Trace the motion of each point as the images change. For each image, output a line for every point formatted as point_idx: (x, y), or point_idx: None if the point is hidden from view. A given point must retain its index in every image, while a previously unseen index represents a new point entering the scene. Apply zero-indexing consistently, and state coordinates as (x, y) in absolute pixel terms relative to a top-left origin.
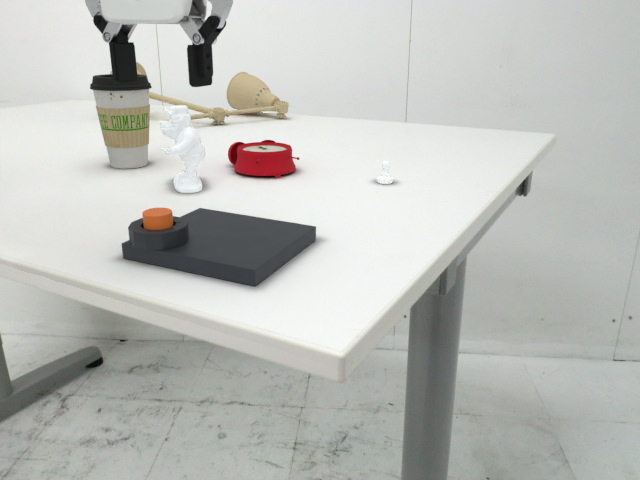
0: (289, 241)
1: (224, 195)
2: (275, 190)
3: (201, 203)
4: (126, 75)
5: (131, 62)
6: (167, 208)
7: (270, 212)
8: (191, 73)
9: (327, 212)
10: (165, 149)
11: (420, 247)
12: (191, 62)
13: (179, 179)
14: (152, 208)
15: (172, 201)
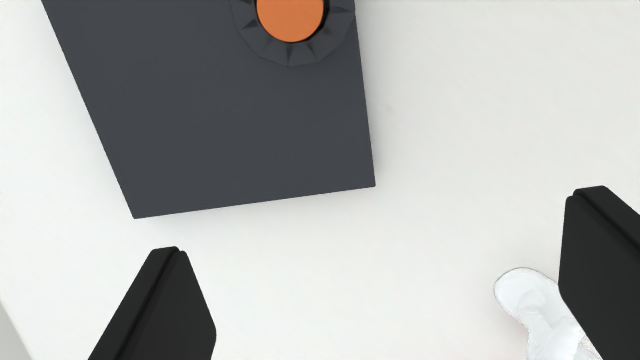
0: (106, 137)
1: (435, 295)
2: (374, 354)
3: (441, 243)
4: (572, 248)
5: (602, 326)
6: (289, 38)
7: (300, 268)
8: (147, 277)
9: (224, 311)
10: None
11: (11, 261)
12: (124, 313)
13: (566, 309)
14: (317, 18)
15: (501, 224)
